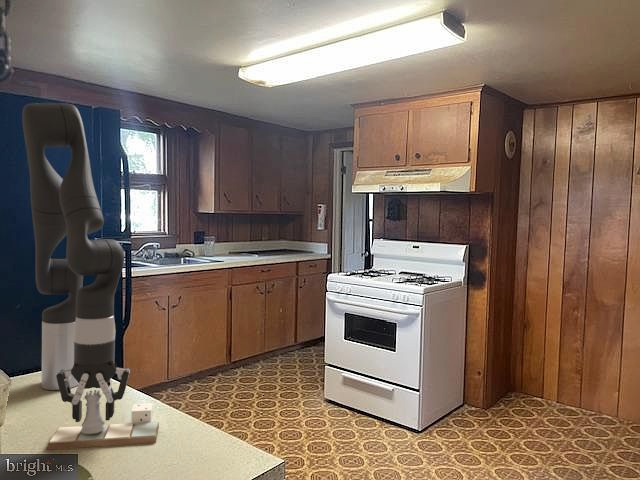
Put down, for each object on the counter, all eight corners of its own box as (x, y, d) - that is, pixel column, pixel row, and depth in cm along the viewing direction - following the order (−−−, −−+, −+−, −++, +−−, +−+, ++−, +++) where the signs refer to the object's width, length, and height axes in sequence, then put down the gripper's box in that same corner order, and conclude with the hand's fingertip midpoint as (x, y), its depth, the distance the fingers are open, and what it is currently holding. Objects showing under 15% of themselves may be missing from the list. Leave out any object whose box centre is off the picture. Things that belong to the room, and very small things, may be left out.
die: (133, 421, 110) (134, 403, 110) (152, 420, 111) (153, 402, 110) (131, 429, 106) (131, 410, 106) (150, 428, 107) (151, 410, 106)
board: (58, 433, 102) (58, 426, 102) (158, 427, 107) (158, 421, 107) (47, 449, 96) (47, 442, 96) (155, 442, 100) (156, 435, 100)
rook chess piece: (95, 435, 98) (95, 395, 98) (76, 434, 99) (75, 394, 99) (109, 427, 102) (109, 389, 103) (90, 426, 103) (90, 388, 104)
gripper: (50, 343, 94) (49, 430, 95) (129, 342, 98) (128, 425, 99) (61, 333, 102) (60, 414, 103) (134, 332, 105) (133, 410, 106)
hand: (93, 419), depth 101 cm, fingers open, 5 cm apart
